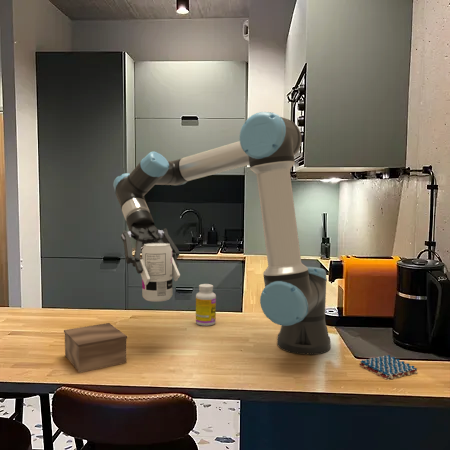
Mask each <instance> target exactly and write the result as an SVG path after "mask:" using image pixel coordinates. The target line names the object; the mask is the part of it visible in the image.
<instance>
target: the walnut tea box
mask: <svg viewBox="0 0 450 450" xmlns="http://www.w3.org/2000/svg"><path fill="white" fill-rule="evenodd" d="M63 333H64V356H65V358H66V359H67V360H68V361H69V363H71V364H72V366H73V367H74V368H75V370H76V371H77V372H79V373H85V372H88V371H93V370H98V369H103V368H108V367H112V366H118V365H121V364H126V363H127V340H128V336H127V334H125V333H124V332H123V331H121V330H119V328H117V327H116V326H114V325H113V324H112V323H110V322H108V323H107V322H106V323H101V324H94V325H89V326H81V327H75V328H74V327H73V328H69V329H64V330H63Z"/></svg>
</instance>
